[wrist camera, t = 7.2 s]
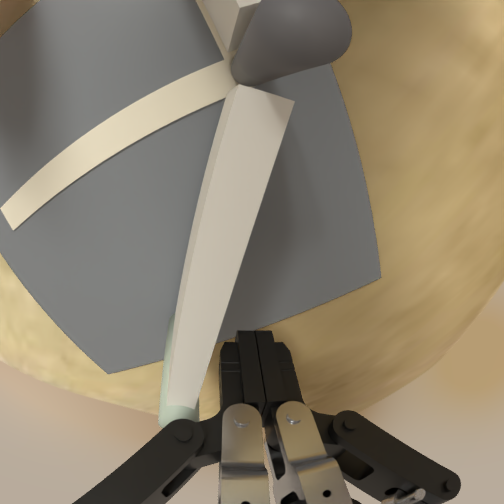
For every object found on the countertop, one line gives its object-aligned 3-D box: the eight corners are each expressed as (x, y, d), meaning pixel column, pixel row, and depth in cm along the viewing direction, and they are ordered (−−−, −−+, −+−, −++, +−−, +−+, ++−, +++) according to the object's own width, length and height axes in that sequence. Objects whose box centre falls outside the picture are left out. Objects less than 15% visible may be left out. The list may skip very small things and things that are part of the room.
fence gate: (220, 91, 10) (225, 78, 4) (263, 102, 10) (317, 107, 5) (167, 330, 16) (157, 430, 10) (196, 335, 16) (196, 434, 11)
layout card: (-55, 118, 7) (-62, 120, 7) (243, -86, 5) (244, -93, 5) (109, 368, 19) (107, 375, 18) (377, 272, 17) (382, 278, 16)
